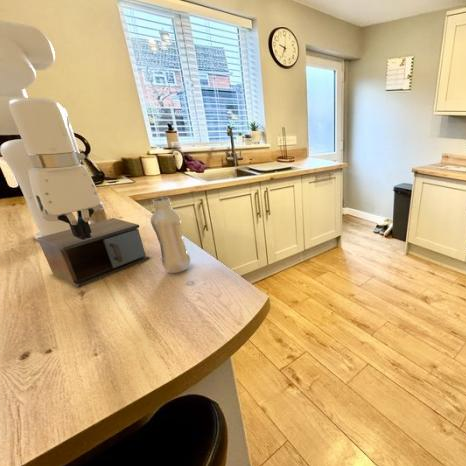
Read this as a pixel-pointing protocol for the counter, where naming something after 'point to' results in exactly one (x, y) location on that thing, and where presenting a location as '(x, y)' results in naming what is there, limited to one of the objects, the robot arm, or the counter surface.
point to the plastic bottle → (169, 236)
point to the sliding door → (124, 247)
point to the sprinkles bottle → (98, 215)
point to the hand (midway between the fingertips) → (84, 237)
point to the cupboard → (84, 252)
